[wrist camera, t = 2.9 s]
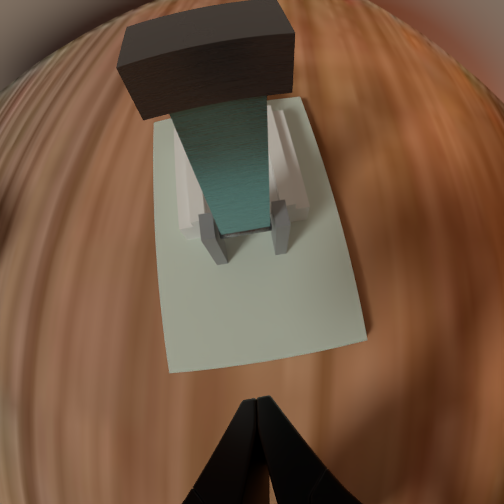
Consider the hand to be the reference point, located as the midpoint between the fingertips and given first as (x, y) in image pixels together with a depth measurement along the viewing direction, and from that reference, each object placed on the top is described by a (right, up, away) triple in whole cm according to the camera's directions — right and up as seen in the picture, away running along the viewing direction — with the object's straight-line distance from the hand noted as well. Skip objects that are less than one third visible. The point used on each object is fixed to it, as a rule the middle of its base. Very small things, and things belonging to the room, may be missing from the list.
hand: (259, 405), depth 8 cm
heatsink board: (-1, +7, +16) cm, 18 cm away
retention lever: (-1, +6, +10) cm, 12 cm away
